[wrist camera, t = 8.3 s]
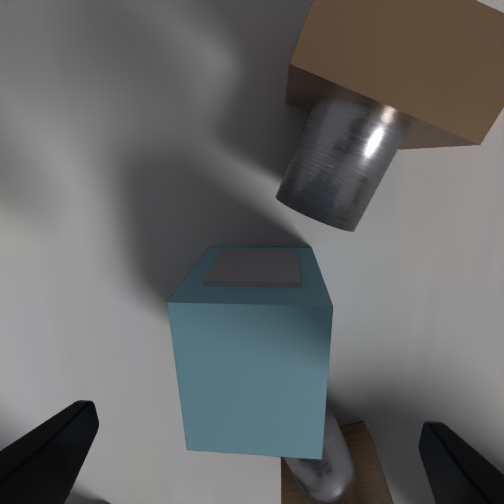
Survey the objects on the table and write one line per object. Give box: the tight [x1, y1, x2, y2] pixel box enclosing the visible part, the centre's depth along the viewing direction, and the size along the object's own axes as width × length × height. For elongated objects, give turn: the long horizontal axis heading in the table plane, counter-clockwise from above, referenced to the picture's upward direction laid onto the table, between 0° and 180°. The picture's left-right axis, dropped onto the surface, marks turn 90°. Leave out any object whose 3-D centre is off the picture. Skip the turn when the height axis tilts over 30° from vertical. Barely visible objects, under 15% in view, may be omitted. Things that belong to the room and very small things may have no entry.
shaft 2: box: [281, 406, 394, 504], centre depth 14 cm, size 7×5×5 cm
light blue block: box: [167, 247, 333, 459], centre depth 12 cm, size 6×5×6 cm
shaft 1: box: [276, 0, 504, 232], centre depth 9 cm, size 7×5×5 cm
